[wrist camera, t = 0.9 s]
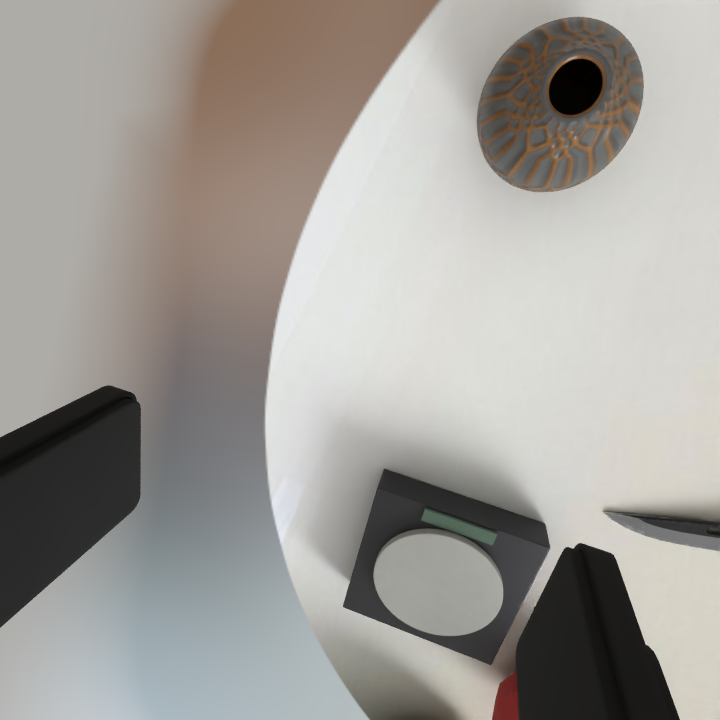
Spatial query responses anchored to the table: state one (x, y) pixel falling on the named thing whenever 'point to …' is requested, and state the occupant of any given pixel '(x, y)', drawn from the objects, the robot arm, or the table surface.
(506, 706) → the tomato
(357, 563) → the scale
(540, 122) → the vase
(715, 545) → the knife
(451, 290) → the table surface
